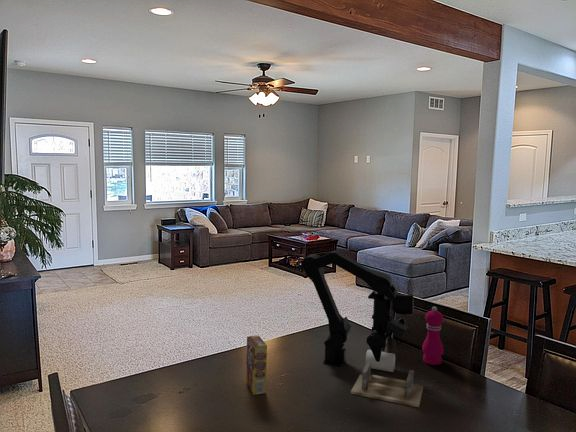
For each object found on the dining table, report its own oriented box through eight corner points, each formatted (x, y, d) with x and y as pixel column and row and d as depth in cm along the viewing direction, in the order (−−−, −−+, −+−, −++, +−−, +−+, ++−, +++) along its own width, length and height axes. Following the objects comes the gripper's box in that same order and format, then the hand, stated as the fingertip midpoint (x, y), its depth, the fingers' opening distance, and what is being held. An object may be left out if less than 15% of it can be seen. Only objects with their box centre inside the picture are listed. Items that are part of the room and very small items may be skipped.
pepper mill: (440, 357, 163) (442, 303, 161) (445, 366, 156) (447, 310, 154) (419, 356, 164) (422, 303, 161) (423, 365, 156) (426, 309, 154)
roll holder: (350, 393, 136) (351, 373, 136) (359, 376, 147) (360, 357, 147) (419, 407, 129) (419, 385, 128) (423, 388, 140) (424, 368, 139)
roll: (365, 371, 153) (365, 355, 151) (369, 361, 158) (369, 346, 156) (392, 375, 149) (392, 360, 148) (395, 365, 155) (395, 350, 153)
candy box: (267, 393, 136) (267, 345, 134) (253, 395, 134) (253, 346, 133) (259, 380, 144) (259, 334, 143) (246, 382, 143) (245, 336, 141)
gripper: (402, 324, 140) (400, 371, 142) (409, 307, 157) (408, 349, 159) (366, 319, 144) (365, 365, 146) (378, 303, 161) (376, 344, 163)
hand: (380, 356), depth 153 cm, fingers open, 9 cm apart
